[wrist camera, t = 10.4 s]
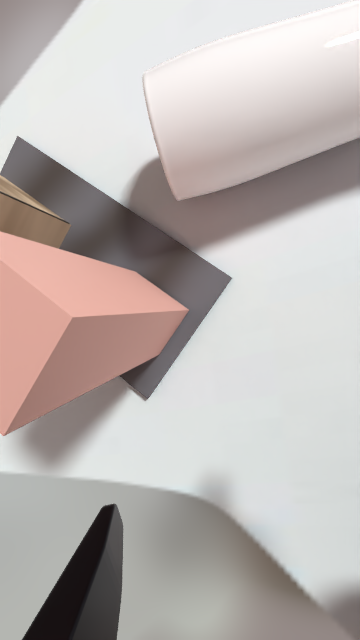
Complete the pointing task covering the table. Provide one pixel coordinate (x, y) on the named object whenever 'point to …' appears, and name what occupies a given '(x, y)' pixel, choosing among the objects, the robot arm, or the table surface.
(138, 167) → the table surface
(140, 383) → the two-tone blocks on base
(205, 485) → the table surface
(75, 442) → the table surface
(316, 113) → the drinking glass
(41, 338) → the stub
